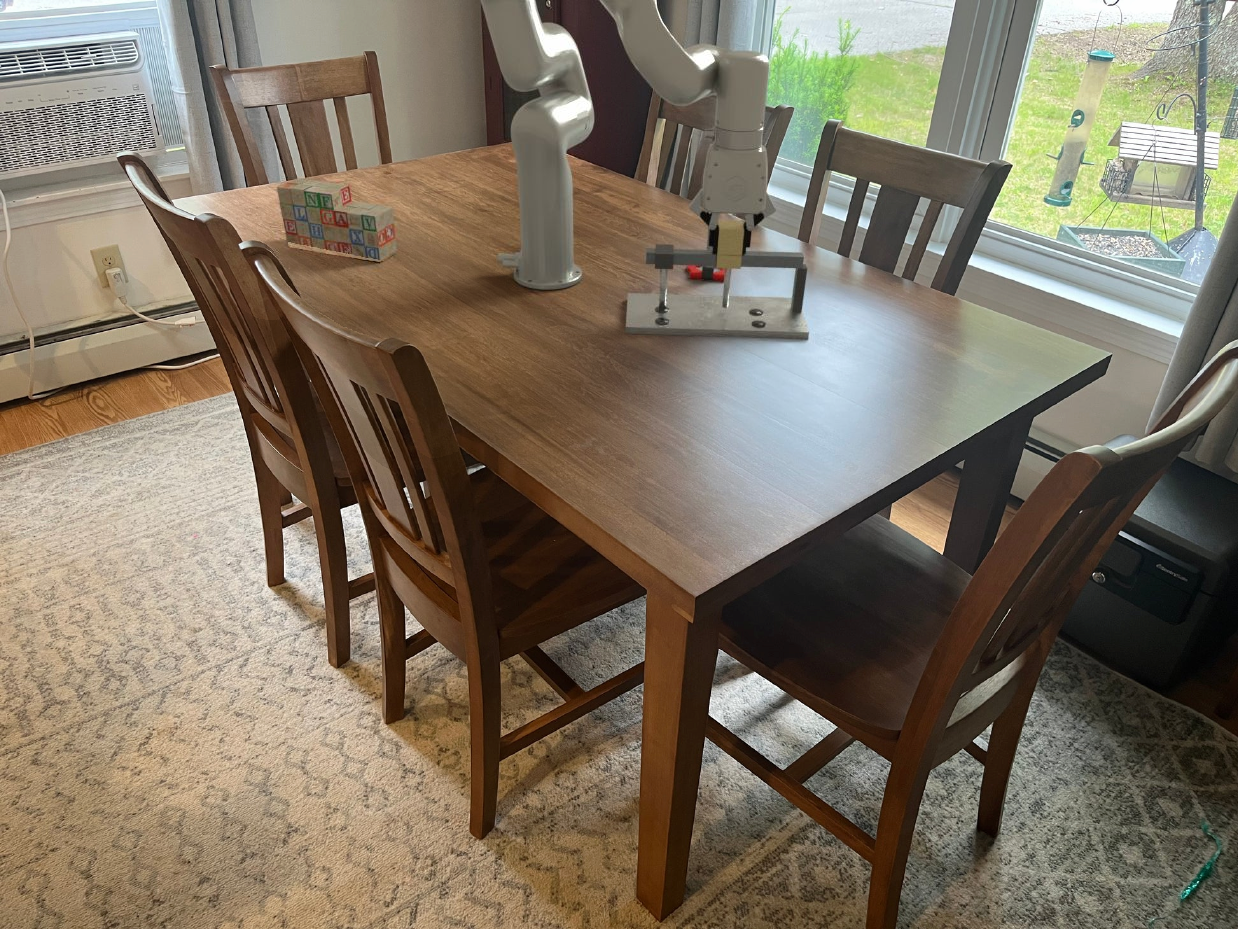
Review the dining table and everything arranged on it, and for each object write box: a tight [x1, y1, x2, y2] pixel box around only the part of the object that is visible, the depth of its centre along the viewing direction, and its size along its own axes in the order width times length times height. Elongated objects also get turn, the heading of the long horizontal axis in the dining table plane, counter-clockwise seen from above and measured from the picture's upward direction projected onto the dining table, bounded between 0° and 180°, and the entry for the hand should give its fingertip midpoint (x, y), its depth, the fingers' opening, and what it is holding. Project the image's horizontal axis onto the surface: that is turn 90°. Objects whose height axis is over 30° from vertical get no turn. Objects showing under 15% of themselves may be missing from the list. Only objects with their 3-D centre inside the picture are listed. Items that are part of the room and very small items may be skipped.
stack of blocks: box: [276, 177, 398, 260], centre depth 183 cm, size 21×6×12 cm, turn 69°
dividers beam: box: [645, 243, 808, 312], centre depth 161 cm, size 27×5×10 cm, turn 88°
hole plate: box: [625, 292, 810, 340], centre depth 162 cm, size 30×14×1 cm, turn 88°
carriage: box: [715, 219, 744, 308], centre depth 160 cm, size 4×4×14 cm
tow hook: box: [686, 225, 732, 282], centre depth 177 cm, size 8×13×9 cm
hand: (728, 249), depth 158 cm, fingers closed on carriage, 4 cm apart
